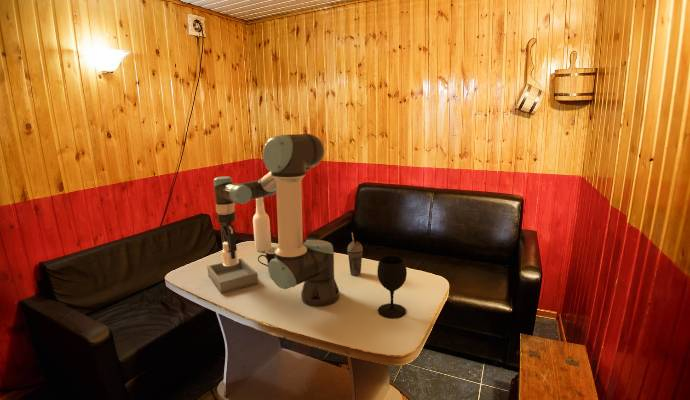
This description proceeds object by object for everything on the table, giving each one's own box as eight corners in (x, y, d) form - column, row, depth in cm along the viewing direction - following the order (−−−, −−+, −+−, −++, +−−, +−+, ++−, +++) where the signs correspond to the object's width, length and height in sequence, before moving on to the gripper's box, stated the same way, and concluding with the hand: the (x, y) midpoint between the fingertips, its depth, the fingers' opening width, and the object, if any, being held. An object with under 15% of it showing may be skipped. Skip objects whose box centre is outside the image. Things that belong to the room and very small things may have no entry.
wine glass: (371, 311, 135) (371, 260, 131) (389, 301, 142) (389, 252, 138) (394, 321, 128) (394, 268, 124) (412, 310, 135) (412, 259, 131)
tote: (258, 283, 161) (257, 273, 160) (221, 293, 152) (219, 282, 151) (242, 267, 179) (241, 258, 178) (208, 276, 171) (207, 265, 169)
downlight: (237, 258, 169) (234, 238, 167) (242, 263, 163) (239, 242, 161) (219, 263, 165) (216, 242, 163) (224, 268, 159) (220, 247, 157)
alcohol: (273, 246, 208) (269, 194, 201) (268, 252, 199) (264, 198, 193) (258, 246, 209) (254, 194, 203) (252, 252, 200) (248, 198, 194)
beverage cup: (366, 275, 166) (365, 233, 162) (351, 278, 163) (350, 235, 159) (359, 270, 173) (358, 229, 168) (345, 272, 170) (344, 231, 166)
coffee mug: (287, 267, 179) (286, 247, 176) (282, 274, 170) (281, 253, 168) (264, 266, 180) (262, 247, 178) (258, 274, 171) (256, 253, 169)
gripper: (241, 215, 153) (246, 267, 158) (228, 206, 169) (232, 254, 174) (223, 218, 149) (228, 271, 154) (211, 209, 165) (216, 257, 170)
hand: (230, 262), depth 164 cm, fingers closed on downlight, 7 cm apart
